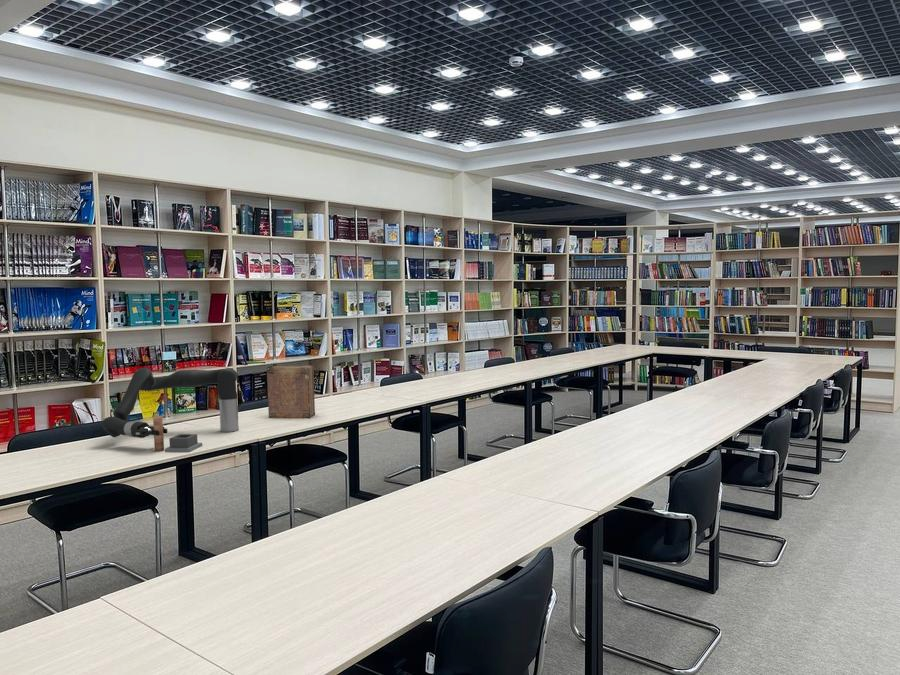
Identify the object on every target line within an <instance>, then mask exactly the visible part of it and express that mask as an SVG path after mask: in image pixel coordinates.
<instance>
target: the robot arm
mask: <svg viewBox="0 0 900 675" xmlns="http://www.w3.org/2000/svg"><path fill="white" fill-rule="evenodd" d="M238 375H239V374H238V372H237V371H236V370H235V369H233V368H231V367H226V368H220V369H210V370H207V369H182V370H181V369H180V370H176V371H175V372H173V373H171V374H169V375H167V376H162V377H154V374H153V372H152V371H151V369H150V368H148V367H141V368H138V369H137V370H135V371H134V372H133V375H132V377H131V379H130V382H129V384H128V386H127V388H126V391H125V393H124V395H123V397H122V398H121V400H120V401H119V402H118V404H117V406H116V407H115V409H114V410H113V413H112V414H113V416H108V417H106V418H104V419H103V420H102V422H101V428H102V429H103V430H104V431H105V432H106V433H107V434H108V435H109V436H110V437H112V438H117V437H119V436H124V437H125V436H127V437H131V438H139V439H144V438H147V437H149V436H150V437H151V436H154V435H157V436H158V435H160V432H159V431H158V430H154V425H149V423H148V422H146V421H136V420H133V421H132V420H131V421H129V420H128V419H129V416H130V414H131V413H132V411H133V409H134V408H135V405H136V403H137V399H138V395H139V393H140V391H146V392H148V391H154V390H156V391H157V390H161V389H162V390H163V389H175V388H176V389H177V388H194V387H195V388H196V387H201V386H206V385H212V384H213V385H214V384H215V385H216V384H217V394H218V401H219V403H218V404H219V424H220V425H219V426H220V428H219V430H220V432H221V433H223V432H224V433H230V432H235V431H239V428H240V427H239V408H238V407H239V406H238V405H239V404H238V392H237V380H238V379H239V378H238V377H239V376H238ZM163 434H168V428H165V426H164V425H163Z"/></svg>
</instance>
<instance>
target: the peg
mask: <svg viewBox="0 0 900 675" xmlns="http://www.w3.org/2000/svg"><path fill="white" fill-rule="evenodd" d="M152 420H153V422H152V423H153V425H152V426H154V430H158V431H159V432H160V435H158V436H157V435H153V443H154V445H153V446H154V452H156V453H158V452H164V451H165V445H164V444H165V443H164V440H165V438H164V433H163V426H164V422H163V420H164V419H163V416H162V415H158V416H153V417H152Z"/></svg>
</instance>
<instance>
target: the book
mask: <svg viewBox="0 0 900 675" xmlns="http://www.w3.org/2000/svg"><path fill="white" fill-rule="evenodd" d="M314 368H315V367H314V365H297V364H296V365H287V364H285V365H280V364H279V365H277V364H276V365H271V366H268V367H266V379H267V380H266V382H267V383H266V384H267V405H268V409H267V410H268V418H269V419H311V417H313V416H315V415H316V406H315V404H316V402H315V372H314Z"/></svg>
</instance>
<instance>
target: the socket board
mask: <svg viewBox="0 0 900 675" xmlns="http://www.w3.org/2000/svg"><path fill="white" fill-rule="evenodd" d="M168 440H169V446H167V447H164V451H165V452H166V453H167V452H168V453H190V452H193V451H194V450H197V449H198V448H200V447H202V446H203V442H198V441H199V440H198V434H197V433H178V434H176V435H174V436H172V437H169V438H168Z"/></svg>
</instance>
